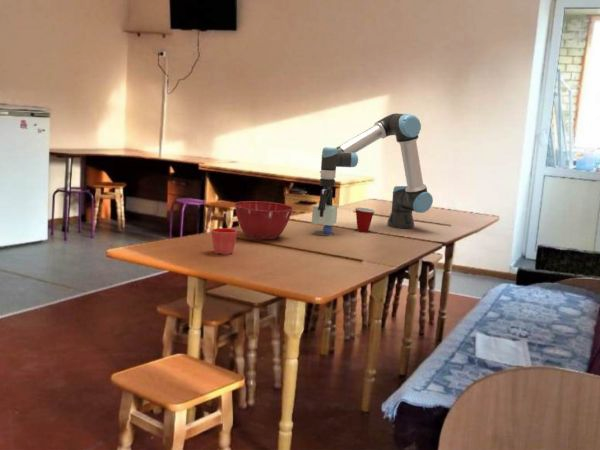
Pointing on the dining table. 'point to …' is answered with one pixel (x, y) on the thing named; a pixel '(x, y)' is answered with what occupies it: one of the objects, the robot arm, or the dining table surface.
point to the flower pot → (224, 240)
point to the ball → (327, 229)
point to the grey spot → (322, 233)
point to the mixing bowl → (262, 218)
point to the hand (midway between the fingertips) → (324, 221)
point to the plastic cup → (364, 218)
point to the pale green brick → (329, 215)
